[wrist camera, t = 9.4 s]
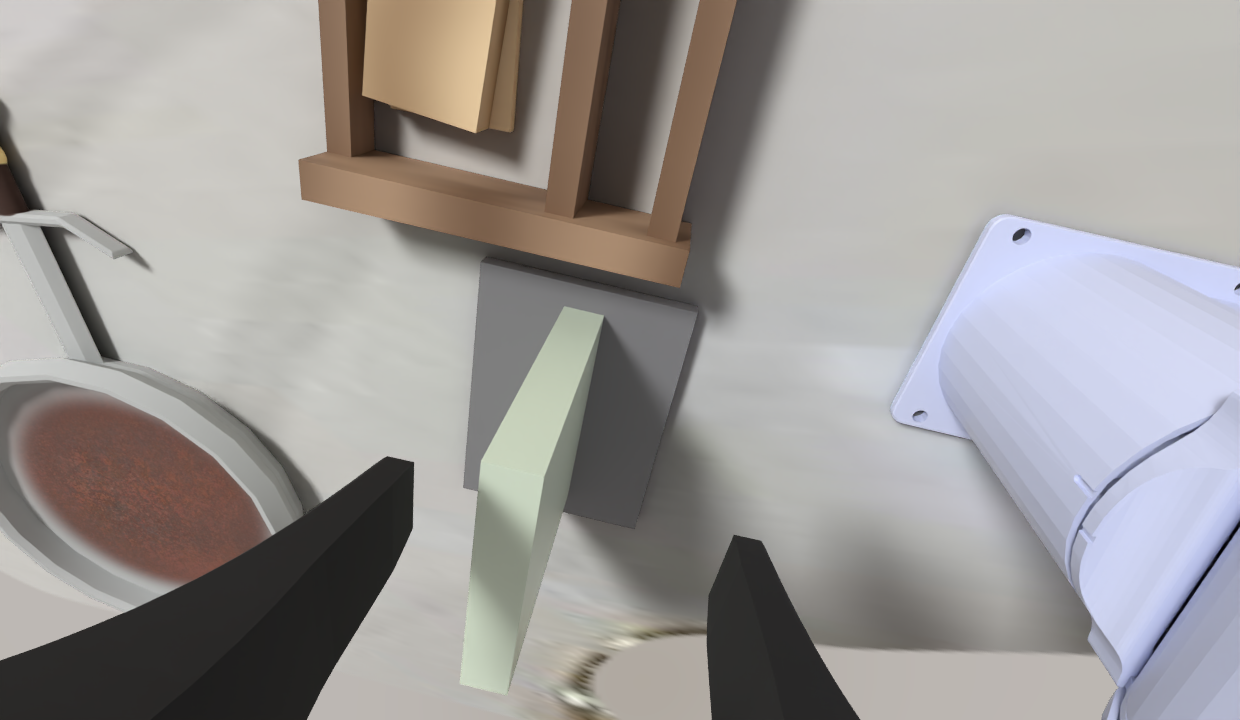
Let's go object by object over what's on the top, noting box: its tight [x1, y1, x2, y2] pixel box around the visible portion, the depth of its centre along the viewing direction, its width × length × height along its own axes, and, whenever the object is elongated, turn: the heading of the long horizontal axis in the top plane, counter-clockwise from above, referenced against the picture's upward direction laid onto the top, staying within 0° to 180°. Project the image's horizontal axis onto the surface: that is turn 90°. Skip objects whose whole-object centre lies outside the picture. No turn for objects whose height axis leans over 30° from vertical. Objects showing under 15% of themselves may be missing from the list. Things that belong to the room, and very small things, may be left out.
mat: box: [463, 257, 698, 529], centre depth 23 cm, size 8×11×1 cm
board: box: [460, 306, 604, 695], centre depth 19 cm, size 2×9×9 cm, turn 169°
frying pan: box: [0, 147, 303, 613], centre depth 26 cm, size 17×3×28 cm
